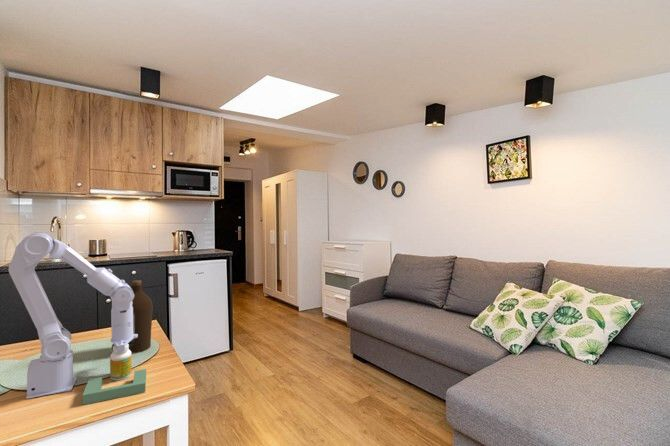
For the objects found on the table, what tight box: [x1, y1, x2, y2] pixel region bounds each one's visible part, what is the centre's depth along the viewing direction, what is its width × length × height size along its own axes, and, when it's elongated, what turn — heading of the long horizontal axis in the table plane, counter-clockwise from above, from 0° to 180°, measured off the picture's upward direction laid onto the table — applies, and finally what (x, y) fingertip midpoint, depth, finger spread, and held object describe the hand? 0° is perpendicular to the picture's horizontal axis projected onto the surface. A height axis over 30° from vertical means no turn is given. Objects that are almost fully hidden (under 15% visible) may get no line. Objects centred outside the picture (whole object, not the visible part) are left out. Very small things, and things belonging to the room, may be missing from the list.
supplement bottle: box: [109, 344, 132, 381], centre depth 98 cm, size 5×5×10 cm
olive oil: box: [130, 279, 154, 354], centre depth 120 cm, size 11×11×25 cm
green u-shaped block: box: [81, 368, 147, 406], centre depth 91 cm, size 14×10×2 cm
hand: (123, 365), depth 102 cm, fingers closed, pressing on supplement bottle
